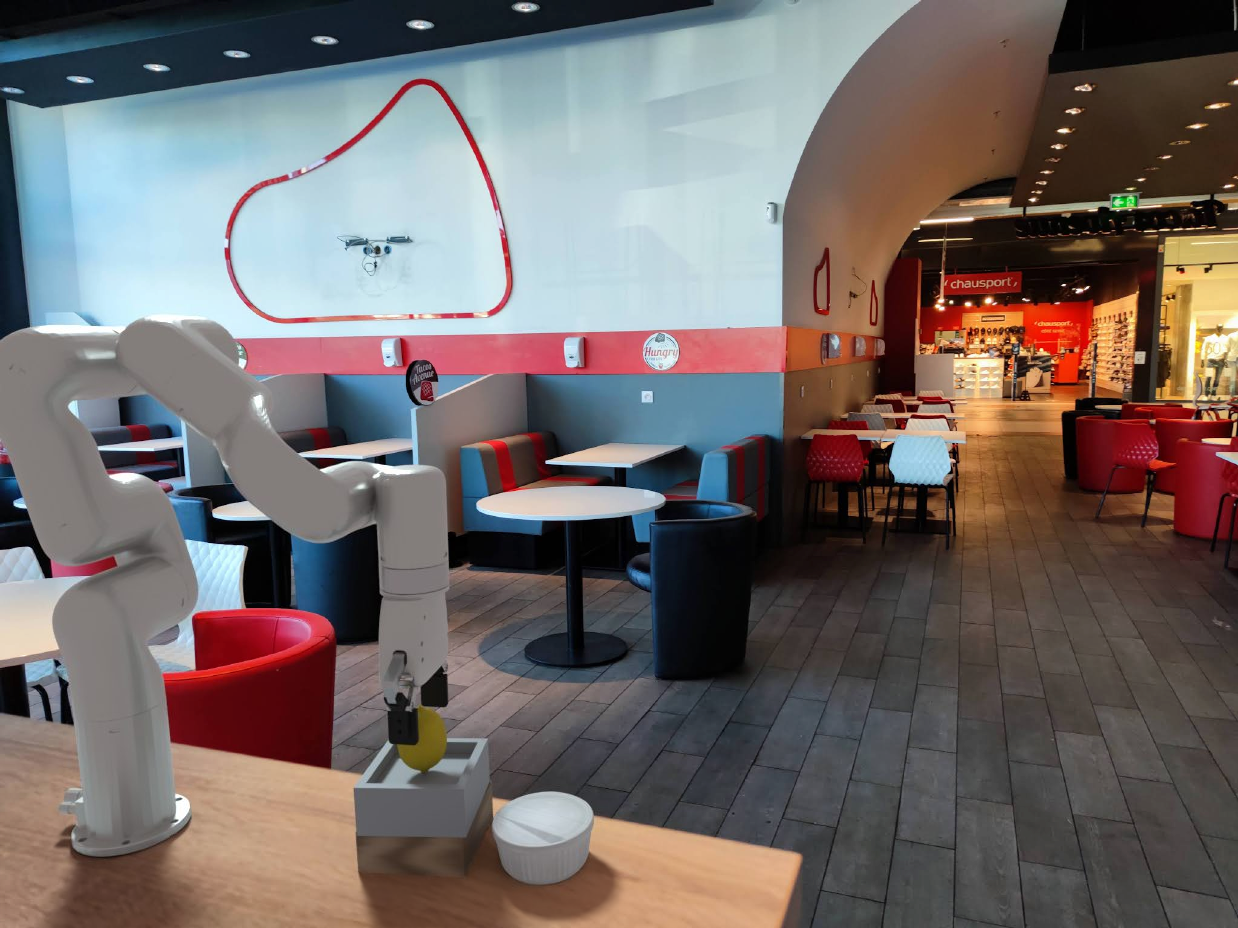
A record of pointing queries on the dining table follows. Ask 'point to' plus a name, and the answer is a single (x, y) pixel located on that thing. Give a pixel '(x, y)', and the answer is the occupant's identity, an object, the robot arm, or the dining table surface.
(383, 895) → the dining table surface
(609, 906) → the dining table surface
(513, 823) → the ramekin
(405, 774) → the tower top block
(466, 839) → the tower bottom block
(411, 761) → the lemon
